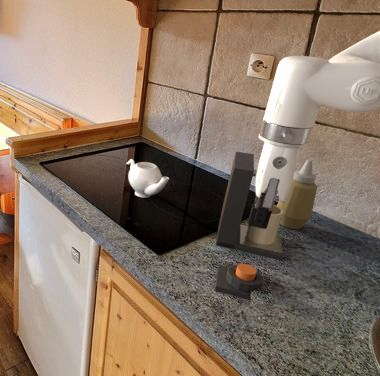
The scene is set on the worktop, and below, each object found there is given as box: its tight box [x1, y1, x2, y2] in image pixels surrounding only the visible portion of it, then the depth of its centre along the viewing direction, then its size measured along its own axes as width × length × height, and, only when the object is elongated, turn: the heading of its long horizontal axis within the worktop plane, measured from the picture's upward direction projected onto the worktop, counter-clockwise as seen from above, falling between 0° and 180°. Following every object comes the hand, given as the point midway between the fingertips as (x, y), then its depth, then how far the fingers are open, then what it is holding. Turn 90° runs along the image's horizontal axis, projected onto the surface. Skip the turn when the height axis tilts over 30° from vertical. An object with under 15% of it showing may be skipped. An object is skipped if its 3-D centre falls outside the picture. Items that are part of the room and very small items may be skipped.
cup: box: [246, 202, 283, 245], centre depth 96 cm, size 6×6×8 cm
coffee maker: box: [215, 151, 284, 261], centre depth 95 cm, size 14×12×20 cm
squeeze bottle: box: [276, 159, 318, 230], centre depth 103 cm, size 8×8×18 cm
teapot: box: [125, 158, 170, 199], centre depth 119 cm, size 10×20×9 cm, turn 21°
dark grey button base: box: [214, 264, 271, 301], centre depth 82 cm, size 10×8×3 cm
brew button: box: [235, 263, 258, 281], centre depth 81 cm, size 4×4×2 cm
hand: (257, 225), depth 77 cm, fingers closed
